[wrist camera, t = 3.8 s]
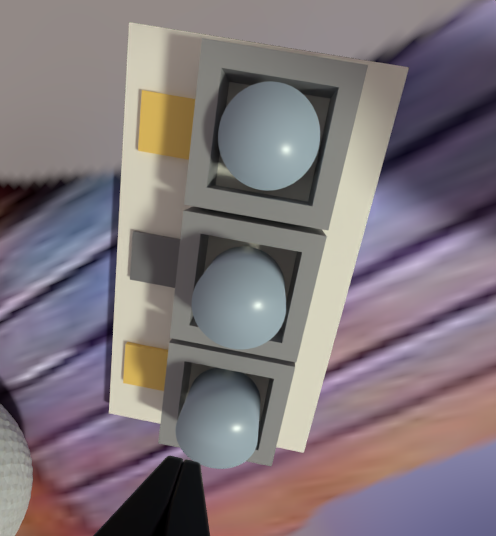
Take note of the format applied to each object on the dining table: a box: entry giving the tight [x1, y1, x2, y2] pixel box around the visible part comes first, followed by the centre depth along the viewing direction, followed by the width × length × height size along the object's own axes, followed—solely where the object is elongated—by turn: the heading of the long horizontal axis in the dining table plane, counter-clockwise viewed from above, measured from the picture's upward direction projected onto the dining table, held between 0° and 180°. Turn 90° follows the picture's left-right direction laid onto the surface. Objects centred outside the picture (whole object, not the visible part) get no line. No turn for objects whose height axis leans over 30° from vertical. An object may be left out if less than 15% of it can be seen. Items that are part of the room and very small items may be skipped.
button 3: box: [175, 368, 261, 469], centre depth 19 cm, size 4×4×3 cm
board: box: [109, 22, 409, 466], centre depth 19 cm, size 14×24×3 cm, turn 171°
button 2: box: [192, 246, 286, 349], centre depth 17 cm, size 4×4×3 cm
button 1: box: [218, 81, 320, 190], centre depth 16 cm, size 4×4×3 cm
